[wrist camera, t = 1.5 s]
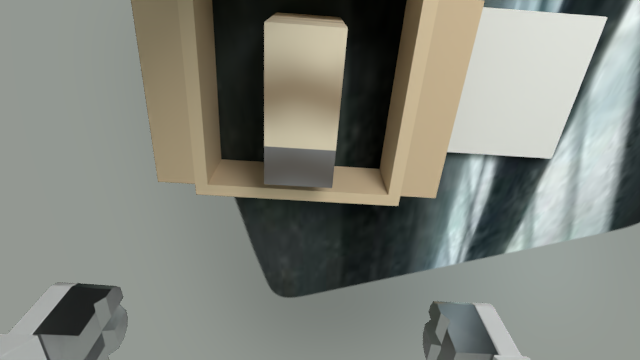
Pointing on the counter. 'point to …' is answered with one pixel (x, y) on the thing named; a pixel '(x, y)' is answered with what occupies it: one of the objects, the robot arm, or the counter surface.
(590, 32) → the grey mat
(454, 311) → the robot arm
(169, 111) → the carton
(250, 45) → the counter surface
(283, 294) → the counter surface
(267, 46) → the block
